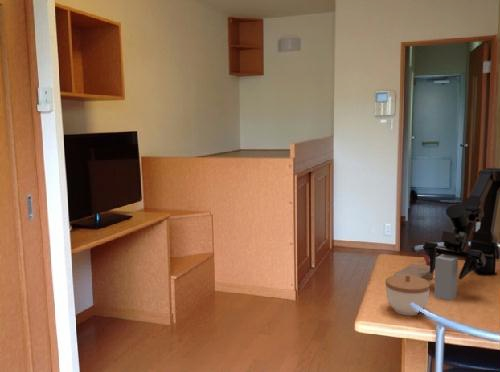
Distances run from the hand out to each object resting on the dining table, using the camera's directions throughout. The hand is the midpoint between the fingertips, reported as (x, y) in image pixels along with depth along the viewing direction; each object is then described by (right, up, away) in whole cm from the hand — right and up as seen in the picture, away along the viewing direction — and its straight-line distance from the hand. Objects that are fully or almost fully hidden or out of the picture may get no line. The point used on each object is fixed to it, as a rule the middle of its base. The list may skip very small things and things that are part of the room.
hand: (444, 275), depth 149 cm
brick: (-4, -6, +16) cm, 18 cm away
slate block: (+1, -7, +2) cm, 7 cm away
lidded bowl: (-15, -9, -9) cm, 20 cm away
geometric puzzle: (+10, -3, +34) cm, 35 cm away
